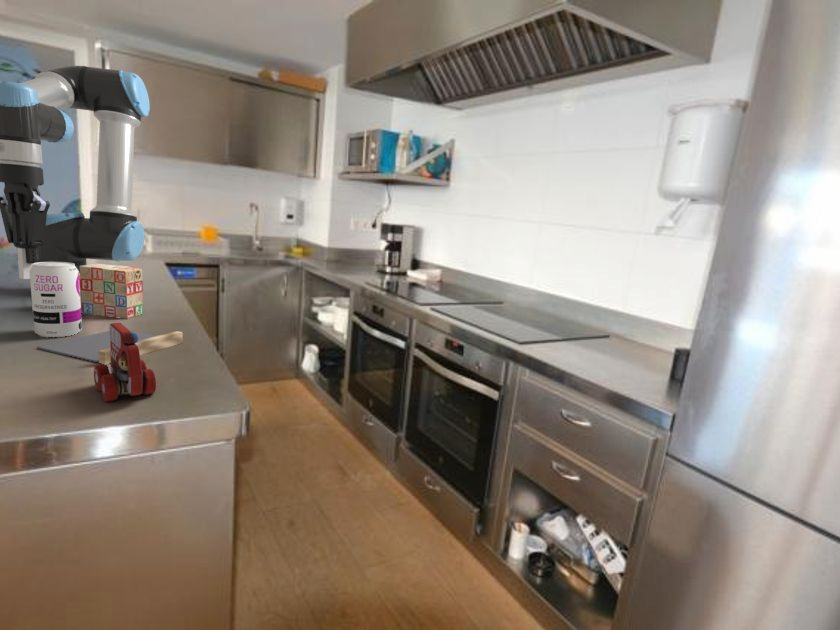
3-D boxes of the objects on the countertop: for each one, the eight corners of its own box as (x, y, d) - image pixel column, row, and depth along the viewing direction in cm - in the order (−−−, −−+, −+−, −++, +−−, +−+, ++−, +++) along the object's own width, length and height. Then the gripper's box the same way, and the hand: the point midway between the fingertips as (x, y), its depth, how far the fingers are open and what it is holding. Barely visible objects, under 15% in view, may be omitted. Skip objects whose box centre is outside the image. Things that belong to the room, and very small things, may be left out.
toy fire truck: (109, 410, 71) (106, 341, 69) (91, 384, 80) (88, 322, 77) (161, 400, 76) (159, 336, 74) (139, 376, 84) (137, 318, 82)
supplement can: (77, 327, 110) (73, 261, 107) (85, 335, 104) (81, 266, 101) (32, 331, 104) (26, 261, 101) (38, 340, 98) (32, 267, 95)
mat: (121, 330, 110) (121, 328, 110) (176, 341, 105) (176, 339, 105) (37, 348, 94) (37, 346, 94) (98, 363, 89) (98, 361, 89)
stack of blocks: (48, 310, 122) (44, 261, 119) (68, 306, 128) (65, 259, 126) (127, 319, 120) (125, 270, 117) (144, 314, 126) (142, 267, 124)
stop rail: (177, 341, 105) (176, 331, 105) (182, 343, 105) (182, 332, 104) (99, 363, 89) (98, 350, 88) (105, 364, 88) (104, 352, 88)
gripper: (-23, 160, 98) (-12, 276, 103) (21, 163, 94) (30, 283, 99) (18, 164, 105) (26, 273, 110) (60, 168, 101) (67, 280, 106)
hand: (28, 278), depth 104 cm, fingers closed
